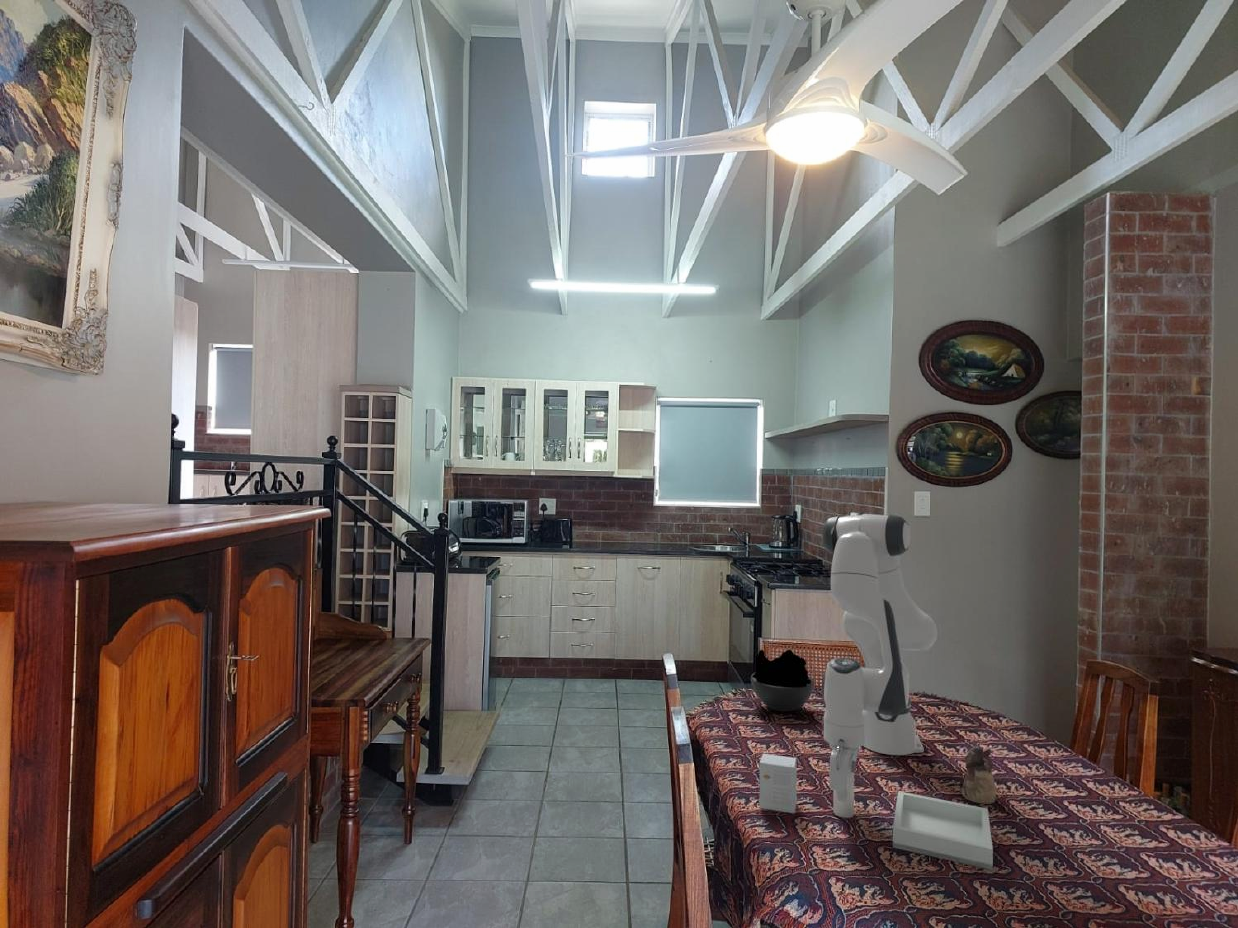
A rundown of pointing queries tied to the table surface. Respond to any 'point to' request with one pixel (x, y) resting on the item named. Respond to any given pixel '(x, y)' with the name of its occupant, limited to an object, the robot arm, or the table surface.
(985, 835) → the tray
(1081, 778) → the table surface
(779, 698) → the coal bowl
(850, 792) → the shaker
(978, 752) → the figurine
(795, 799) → the small box
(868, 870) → the table surface
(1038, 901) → the table surface
